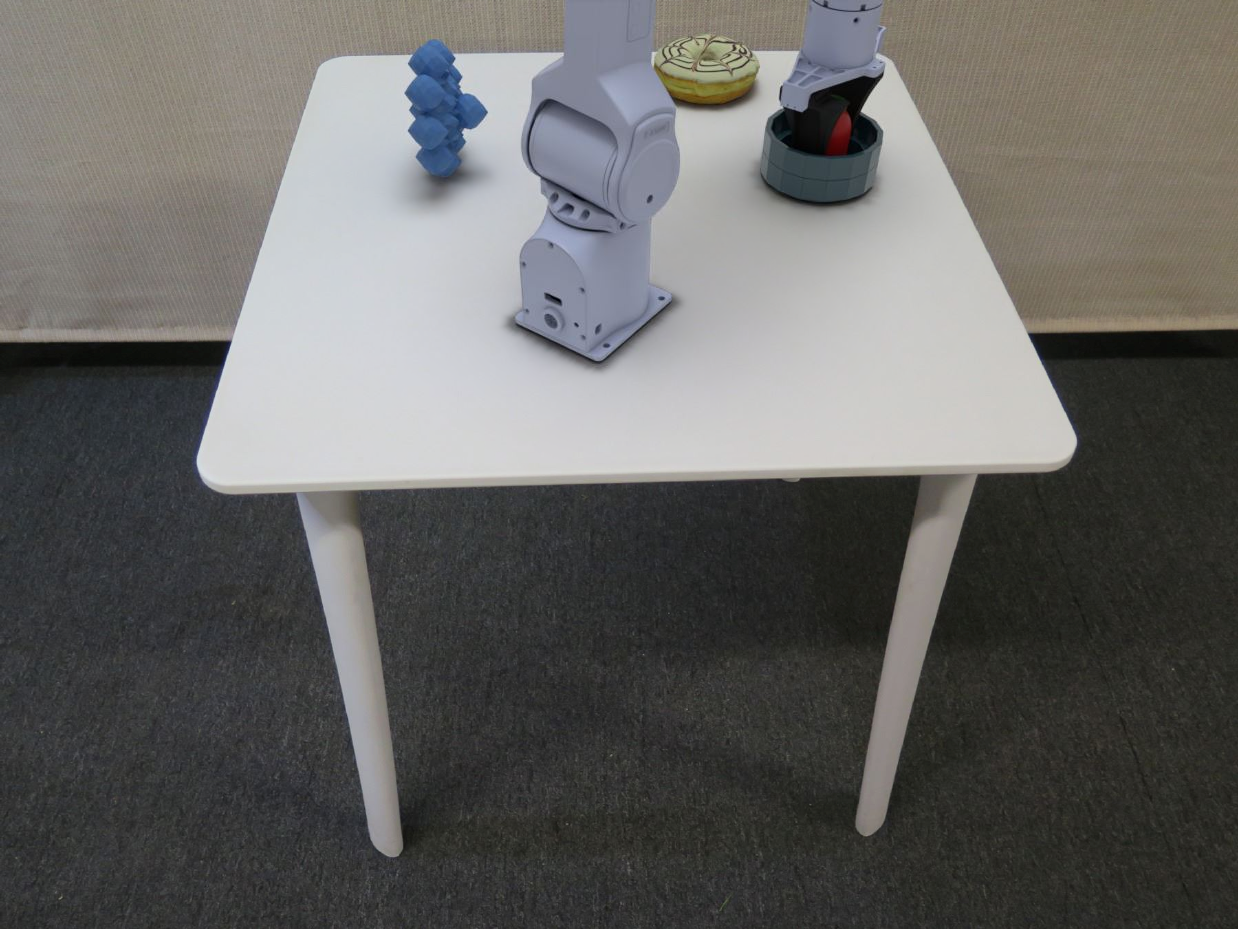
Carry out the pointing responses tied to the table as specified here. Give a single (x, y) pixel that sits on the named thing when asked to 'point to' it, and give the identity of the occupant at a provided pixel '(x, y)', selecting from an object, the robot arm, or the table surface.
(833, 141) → the red jar green lid
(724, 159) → the table surface
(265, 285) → the table surface
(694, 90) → the decorated donut
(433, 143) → the grapes
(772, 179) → the dessert bowl
